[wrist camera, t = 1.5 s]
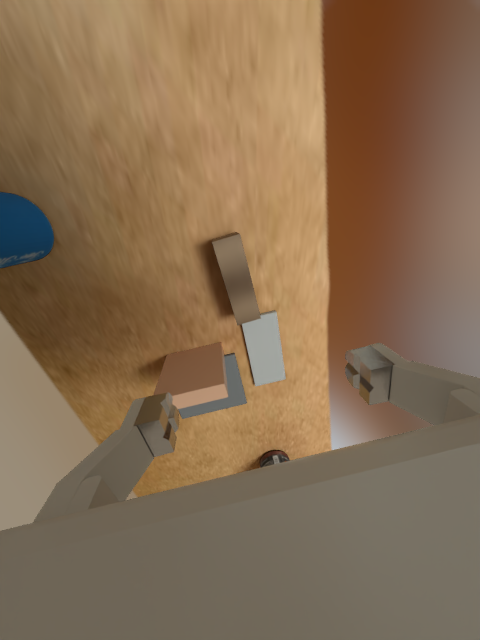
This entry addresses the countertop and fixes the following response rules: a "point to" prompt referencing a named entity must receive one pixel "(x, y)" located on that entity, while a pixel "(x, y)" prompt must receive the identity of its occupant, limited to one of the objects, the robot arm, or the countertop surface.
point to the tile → (194, 376)
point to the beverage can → (22, 231)
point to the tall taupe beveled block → (236, 277)
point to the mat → (233, 399)
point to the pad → (264, 348)
